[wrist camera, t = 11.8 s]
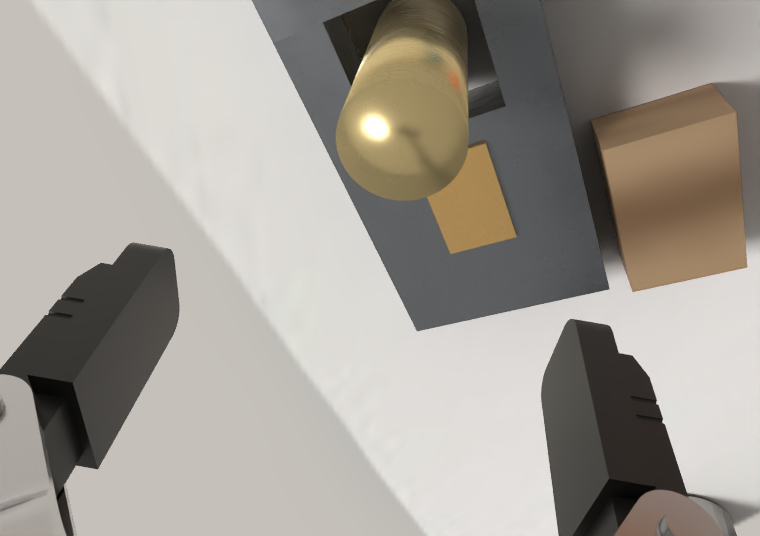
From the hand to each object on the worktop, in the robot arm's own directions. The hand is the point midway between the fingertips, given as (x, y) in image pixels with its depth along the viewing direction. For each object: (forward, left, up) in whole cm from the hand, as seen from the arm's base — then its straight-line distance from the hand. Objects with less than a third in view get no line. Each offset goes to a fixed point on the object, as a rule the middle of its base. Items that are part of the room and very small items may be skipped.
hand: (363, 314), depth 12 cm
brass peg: (0, 0, -18) cm, 18 cm away
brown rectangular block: (-10, -9, -17) cm, 22 cm away
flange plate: (-4, 0, -18) cm, 18 cm away
